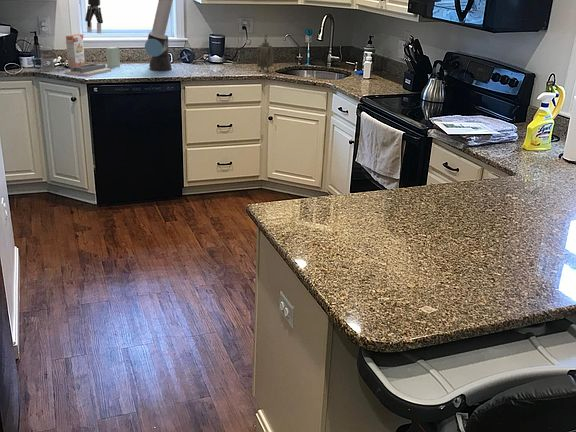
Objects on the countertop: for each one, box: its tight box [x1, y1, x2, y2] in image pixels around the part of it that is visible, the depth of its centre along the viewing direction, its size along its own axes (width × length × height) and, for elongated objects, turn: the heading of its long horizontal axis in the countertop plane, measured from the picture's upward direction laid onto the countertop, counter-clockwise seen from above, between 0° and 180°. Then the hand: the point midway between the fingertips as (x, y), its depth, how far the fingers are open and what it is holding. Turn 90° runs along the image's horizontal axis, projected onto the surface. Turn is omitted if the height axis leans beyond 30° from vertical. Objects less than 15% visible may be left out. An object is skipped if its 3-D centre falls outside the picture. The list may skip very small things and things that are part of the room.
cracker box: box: [65, 33, 86, 69], centre depth 423 cm, size 14×6×21 cm, turn 171°
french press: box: [39, 30, 59, 72], centre depth 404 cm, size 10×12×25 cm
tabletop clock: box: [256, 34, 275, 73], centre depth 435 cm, size 14×9×25 cm, turn 170°
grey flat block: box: [64, 62, 112, 77], centre depth 408 cm, size 18×24×4 cm
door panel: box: [105, 46, 121, 69], centre depth 430 cm, size 4×9×13 cm, turn 158°
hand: (94, 32), depth 408 cm, fingers open, 13 cm apart
